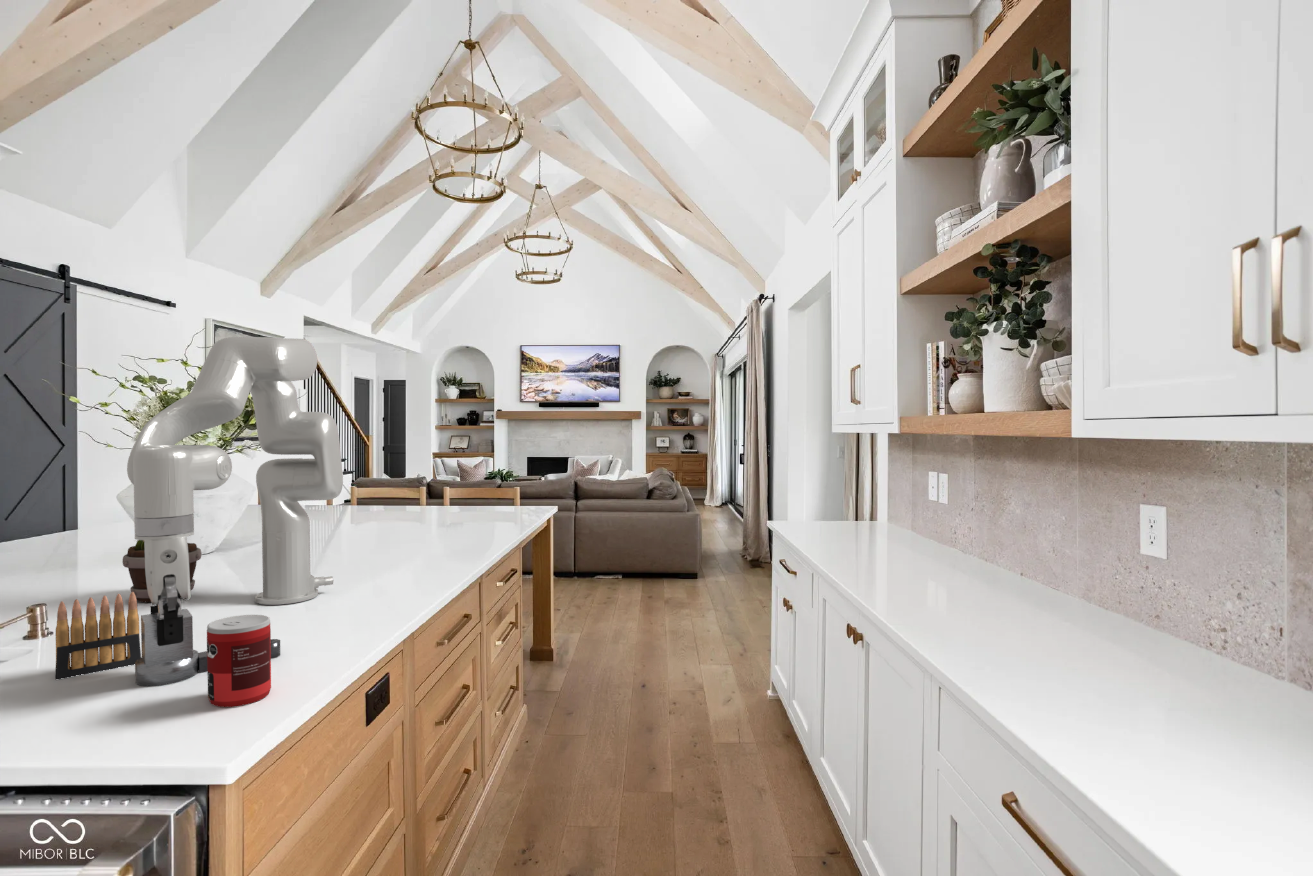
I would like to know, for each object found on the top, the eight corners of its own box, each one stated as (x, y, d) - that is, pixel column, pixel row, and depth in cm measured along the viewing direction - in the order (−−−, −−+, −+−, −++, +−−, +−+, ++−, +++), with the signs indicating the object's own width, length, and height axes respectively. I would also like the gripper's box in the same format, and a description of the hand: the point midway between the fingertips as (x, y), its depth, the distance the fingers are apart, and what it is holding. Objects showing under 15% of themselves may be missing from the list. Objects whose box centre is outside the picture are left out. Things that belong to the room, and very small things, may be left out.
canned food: (225, 688, 102) (224, 615, 102) (281, 686, 103) (280, 613, 103) (195, 709, 95) (194, 630, 95) (256, 707, 95) (254, 628, 95)
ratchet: (274, 648, 121) (274, 611, 120) (285, 660, 114) (285, 621, 114) (133, 675, 108) (132, 634, 107) (137, 690, 102) (136, 646, 101)
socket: (187, 648, 111) (186, 604, 111) (193, 657, 107) (192, 612, 107) (141, 656, 108) (140, 611, 107) (145, 666, 103) (144, 619, 103)
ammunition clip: (55, 680, 106) (53, 603, 106) (55, 677, 107) (53, 601, 107) (141, 664, 113) (140, 591, 113) (140, 661, 115) (138, 589, 114)
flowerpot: (109, 600, 154) (107, 511, 153) (185, 586, 167) (183, 504, 167) (138, 609, 146) (137, 516, 146) (216, 594, 159) (214, 508, 159)
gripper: (201, 531, 103) (203, 644, 103) (186, 519, 116) (188, 620, 116) (139, 536, 98) (141, 655, 98) (130, 523, 111) (132, 628, 111)
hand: (166, 636), depth 107 cm, fingers open, 9 cm apart
